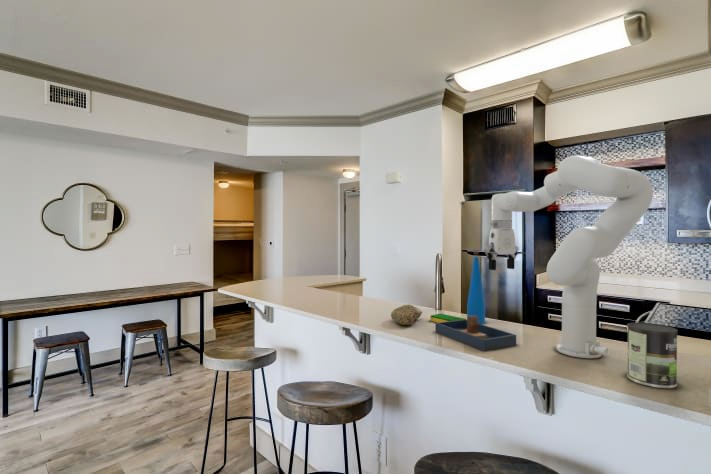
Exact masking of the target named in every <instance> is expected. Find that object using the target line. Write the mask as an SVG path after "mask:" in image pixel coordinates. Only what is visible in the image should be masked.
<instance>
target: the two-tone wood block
mask: <svg viewBox="0 0 711 474" xmlns="http://www.w3.org/2000/svg"><path fill="white" fill-rule="evenodd" d="M466 320H467V329H466V330H459V331H462V332H465V333H468V334H471V335H474V336H476V337H479V338H482V339H487V335H486V334H483V333H480V332H478V316H475V315H470V316H467V315H466Z"/></svg>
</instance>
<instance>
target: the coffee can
mask: <svg viewBox="0 0 711 474" xmlns="http://www.w3.org/2000/svg"><path fill="white" fill-rule="evenodd" d="M626 326H627V375H626V377H627V378H628V379H629V380H630V381H632V382H634V383H637V384H639V385H643V386H647V387H651V388H657V389H674V388H675V389H676V388H677V387H678V384H677V378H678V377H677V376H678V375H677V374H678V367H677V366H678V333H679V330H678V329H677V328H674V327H672V326H669V325H664V324H659V323H651V322H639V321H637V322H629V323H627V324H626Z"/></svg>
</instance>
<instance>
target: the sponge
mask: <svg viewBox="0 0 711 474" xmlns="http://www.w3.org/2000/svg"><path fill="white" fill-rule="evenodd" d="M422 314H423V311H422V310H421V309H420V308H419V307H417V306H414V305H412V304H403V305H401V306H399V307H396V308H394V309H393V311H391V313H390V317H391V319H392V320H393V321H394V322H395V323H397V324H398V325H400V326H401V325H402V326H409V325H411V324H413V323H414V322H415V321H416V319H419V318H420V317H421V316H422Z"/></svg>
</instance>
